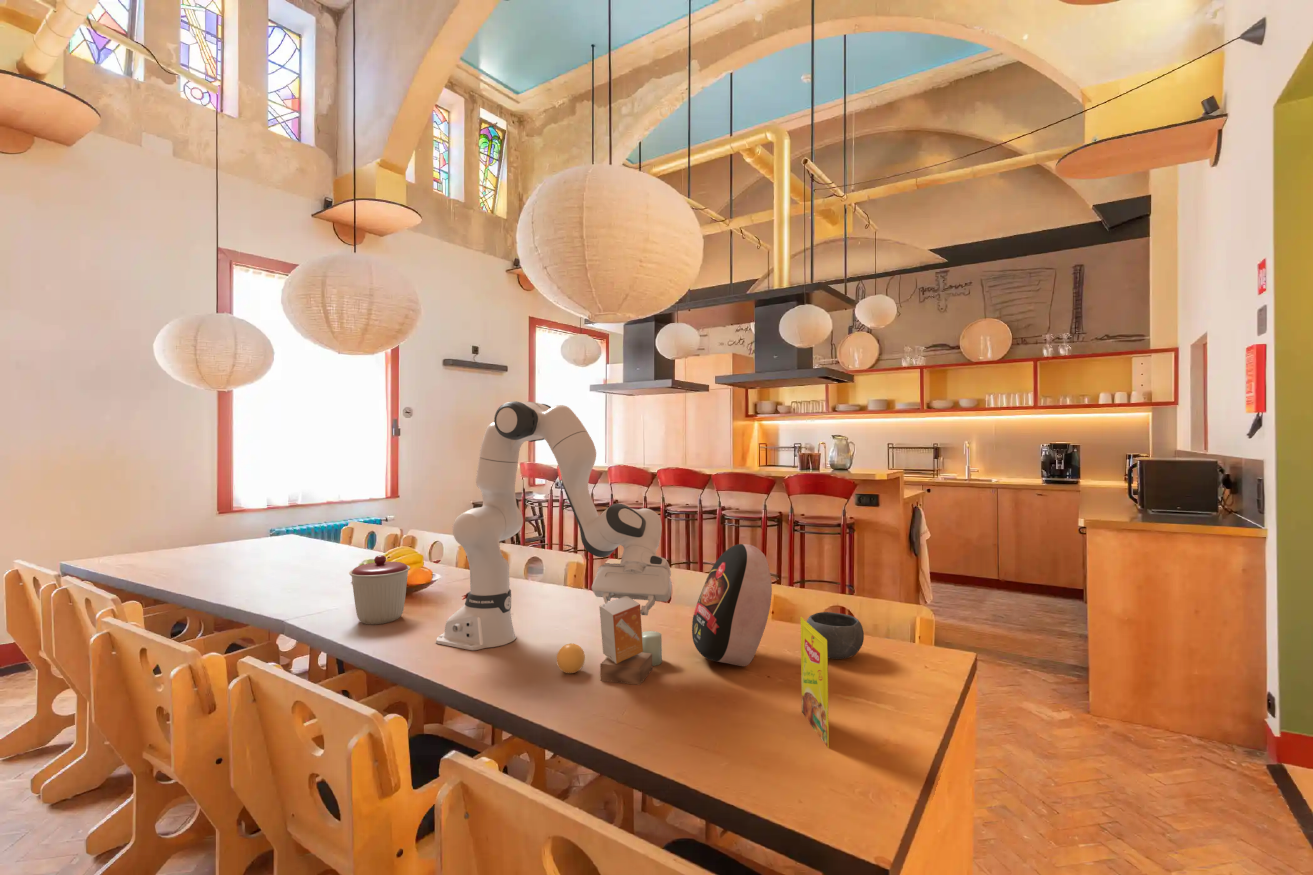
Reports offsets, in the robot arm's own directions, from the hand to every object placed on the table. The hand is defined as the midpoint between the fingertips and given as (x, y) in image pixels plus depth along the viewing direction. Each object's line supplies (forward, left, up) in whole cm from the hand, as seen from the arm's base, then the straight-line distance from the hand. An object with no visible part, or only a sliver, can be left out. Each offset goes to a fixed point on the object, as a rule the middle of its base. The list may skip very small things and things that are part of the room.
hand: (625, 612), depth 148 cm
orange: (-14, -1, -12) cm, 18 cm away
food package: (+45, -16, -16) cm, 50 cm away
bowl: (+49, +27, -16) cm, 58 cm away
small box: (-1, +1, -10) cm, 10 cm away
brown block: (0, +1, -15) cm, 15 cm away
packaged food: (+23, +18, -16) cm, 33 cm away
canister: (-93, +25, -16) cm, 97 cm away
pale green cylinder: (+3, +11, -15) cm, 19 cm away
